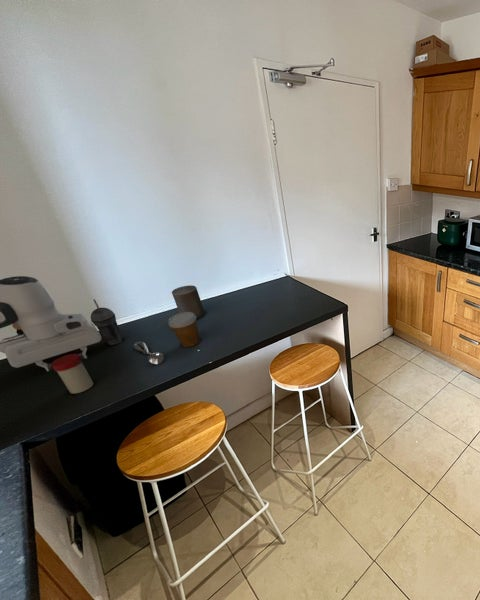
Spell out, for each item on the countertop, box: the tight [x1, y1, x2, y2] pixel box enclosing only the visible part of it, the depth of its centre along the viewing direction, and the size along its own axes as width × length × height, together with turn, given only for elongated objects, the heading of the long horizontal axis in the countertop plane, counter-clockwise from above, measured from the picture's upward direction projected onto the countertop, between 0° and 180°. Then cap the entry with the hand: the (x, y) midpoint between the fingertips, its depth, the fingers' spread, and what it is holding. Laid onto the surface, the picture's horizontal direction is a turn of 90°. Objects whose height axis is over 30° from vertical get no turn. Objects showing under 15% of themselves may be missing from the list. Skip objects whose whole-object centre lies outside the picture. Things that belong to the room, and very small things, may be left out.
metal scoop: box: [132, 341, 164, 365], centre depth 120 cm, size 20×4×5 cm
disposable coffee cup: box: [167, 312, 201, 348], centre depth 125 cm, size 10×10×12 cm
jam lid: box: [51, 353, 83, 372], centre depth 100 cm, size 7×7×2 cm
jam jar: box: [56, 361, 94, 395], centre depth 103 cm, size 6×6×11 cm
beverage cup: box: [90, 299, 123, 346], centre depth 124 cm, size 7×7×20 cm
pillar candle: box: [171, 284, 206, 320], centre depth 144 cm, size 10×10×15 cm
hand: (68, 363), depth 101 cm, fingers closed on jam lid, 6 cm apart
